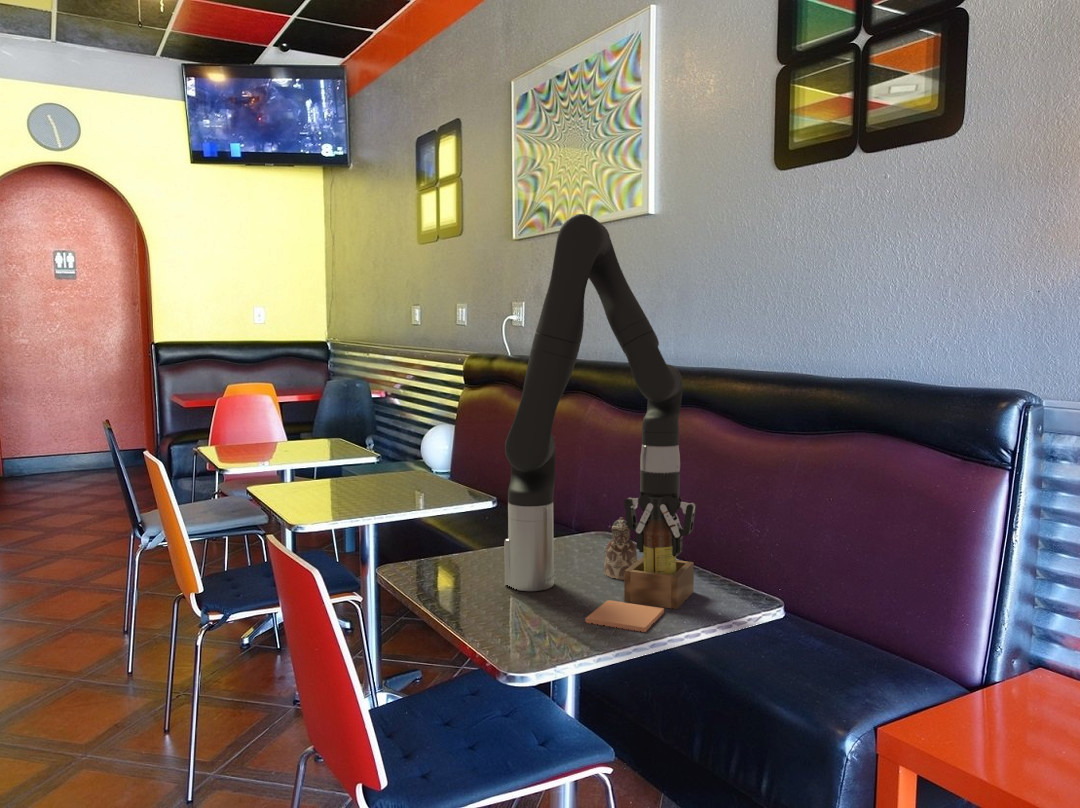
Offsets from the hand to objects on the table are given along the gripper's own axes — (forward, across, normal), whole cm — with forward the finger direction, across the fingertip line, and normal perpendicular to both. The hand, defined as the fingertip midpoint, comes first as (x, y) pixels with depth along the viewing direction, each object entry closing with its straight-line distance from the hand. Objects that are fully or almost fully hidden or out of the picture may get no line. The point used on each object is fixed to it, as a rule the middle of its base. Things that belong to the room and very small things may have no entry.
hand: (659, 553), depth 152 cm
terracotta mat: (+9, -2, -14) cm, 17 cm away
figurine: (+9, -12, +11) cm, 18 cm away
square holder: (+9, 0, 0) cm, 9 cm away
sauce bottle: (+9, 0, 0) cm, 9 cm away
